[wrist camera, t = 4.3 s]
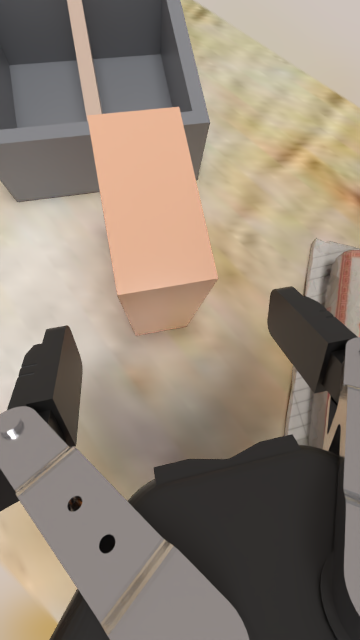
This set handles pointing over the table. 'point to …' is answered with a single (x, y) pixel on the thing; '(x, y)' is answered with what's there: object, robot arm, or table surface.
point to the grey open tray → (87, 85)
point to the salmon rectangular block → (152, 217)
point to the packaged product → (345, 304)
